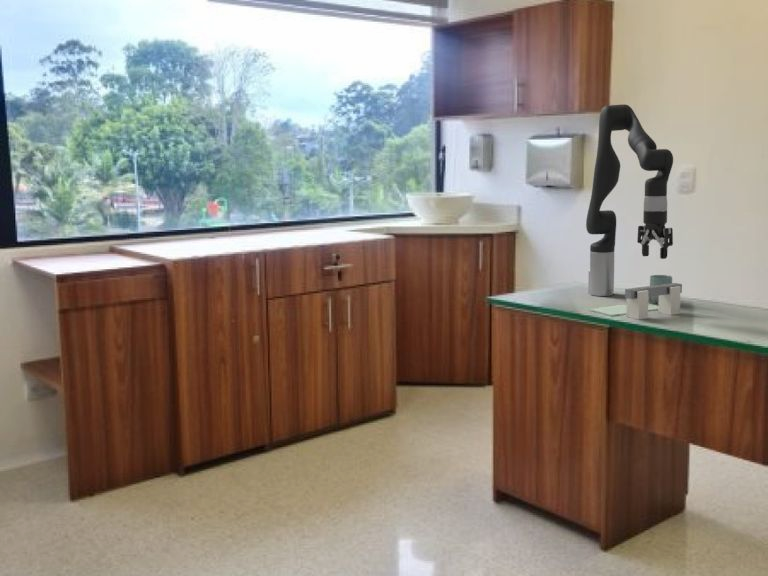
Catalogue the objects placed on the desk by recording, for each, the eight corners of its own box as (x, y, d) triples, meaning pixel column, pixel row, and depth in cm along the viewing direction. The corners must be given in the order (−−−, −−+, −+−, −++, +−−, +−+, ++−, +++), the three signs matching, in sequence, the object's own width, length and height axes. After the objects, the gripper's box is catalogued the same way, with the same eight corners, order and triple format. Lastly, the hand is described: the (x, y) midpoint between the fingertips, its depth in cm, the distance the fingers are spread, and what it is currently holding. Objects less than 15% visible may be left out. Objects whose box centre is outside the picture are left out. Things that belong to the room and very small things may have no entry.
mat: (589, 310, 276) (589, 309, 276) (642, 303, 285) (642, 302, 285) (611, 316, 265) (611, 314, 265) (665, 308, 274) (665, 307, 274)
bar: (625, 297, 260) (625, 289, 260) (675, 291, 269) (675, 282, 268) (631, 299, 258) (631, 290, 257) (681, 292, 266) (681, 284, 266)
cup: (673, 305, 280) (674, 278, 278) (650, 305, 282) (651, 278, 280) (669, 301, 287) (670, 274, 286) (648, 301, 289) (648, 274, 287)
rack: (626, 316, 264) (626, 289, 262) (667, 310, 271) (667, 284, 269) (638, 319, 258) (639, 291, 257) (679, 313, 265) (680, 286, 263)
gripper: (631, 209, 263) (631, 256, 266) (661, 211, 250) (660, 260, 253) (649, 208, 266) (648, 254, 269) (679, 209, 253) (678, 258, 256)
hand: (654, 257), depth 261 cm, fingers open, 8 cm apart
